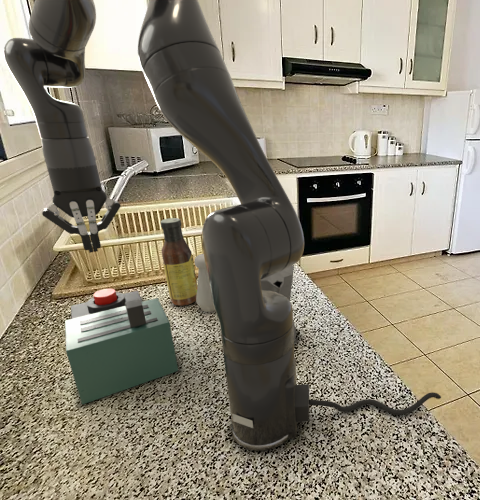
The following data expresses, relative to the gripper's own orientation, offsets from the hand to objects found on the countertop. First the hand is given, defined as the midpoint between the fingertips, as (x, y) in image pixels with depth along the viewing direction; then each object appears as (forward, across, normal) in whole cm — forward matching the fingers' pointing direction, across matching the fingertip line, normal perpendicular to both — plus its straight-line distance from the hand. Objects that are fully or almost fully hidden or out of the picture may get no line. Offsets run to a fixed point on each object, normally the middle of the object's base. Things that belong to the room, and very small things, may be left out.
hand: (93, 250), depth 75 cm
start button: (+12, 0, +2) cm, 12 cm away
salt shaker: (+16, +19, -7) cm, 26 cm away
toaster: (+16, +1, -21) cm, 26 cm away
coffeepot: (+16, +26, -25) cm, 40 cm away
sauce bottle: (+16, +15, 0) cm, 22 cm away
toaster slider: (+6, +4, -24) cm, 25 cm away
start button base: (+16, 0, +2) cm, 16 cm away
